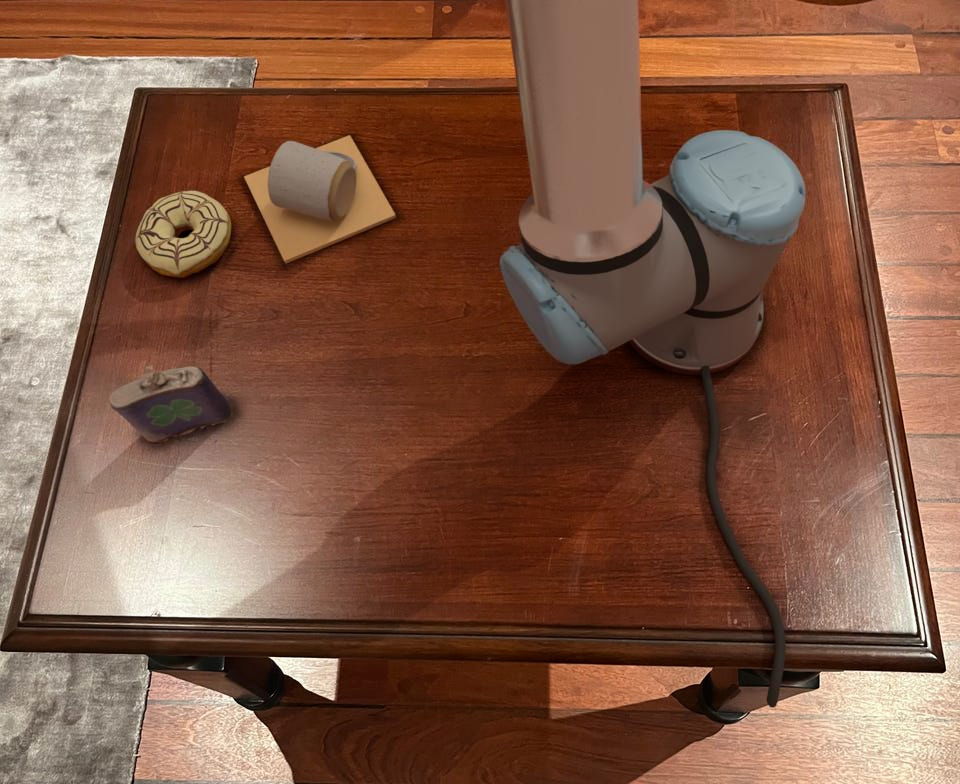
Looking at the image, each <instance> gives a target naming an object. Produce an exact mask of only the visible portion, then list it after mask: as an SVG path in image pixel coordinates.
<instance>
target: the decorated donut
mask: <svg viewBox="0 0 960 784" xmlns="http://www.w3.org/2000/svg"><path fill="white" fill-rule="evenodd" d="M230 217H231V216H230V215H229V213H228V211H227V210H226V208H225V207H224V206H223V205H222V204H221V203H220V202H219V201H217V200H216V199H215V198H212V197H211V196H209V195H208V194H206V193H204V192H202V191H198V190H187V191H185V190H182V191H179V192H175V193H172V194H169V195H167V196H166V195H165V196H164V197H160V198H158V199H157V200H156V201H155V202H154V203H153V204H152V206H151V207H149V208H148V209H147V210H146V211H145V212H144V214H143V217H142V219H141V221H140V222H139V225H138V226H137V230H136V233H135V247H136V250H137V252H138V254H139V255H140V257H141V258H142V259H143V261H144V262H145V263H146V264H147V265H148V266H149V267H150V268H151V269H152V271H155V272H157V273H158V274H160V275H161V276H167V277H172V278H186V277H188V276H191V275H193V274H198V273H199V272H201V271H202V270H204V269H206V268H207V267H209V266H211V265H212V264H214V263H216V262H217V261H218V260H219V259H220V258H221V256H223V255H224V253H225V251H226V250H227V247H228V245H229V244H230V240H231V236H232V234H231V233H232V222H231V218H230ZM185 231H192V232H191V233H190V234H189V235H188V236H186V237H181V238H180V237H179V236H180V235H181V234H182V233H185Z"/></svg>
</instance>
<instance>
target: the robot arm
mask: <svg viewBox="0 0 960 784" xmlns="http://www.w3.org/2000/svg"><path fill="white" fill-rule="evenodd" d="M504 5H505V12H506V18H507V25H508V34H509V39H510V47H511V53H512V60H513V67H514V74H515V81H516V87H517V94H518V100H519V108H520V114H521V121H522V127H523V135H524V141H525V142H524V143H525V148H526V149H525V150H526V156H527V162H528V163H527V164H528V169H529V175H530V183H531V189H532V190H531V191H532V193H531V194H530V195H529V196H528V197H527V198H526V200H525V201H524V203H523V205H522V206H521V207H520V210H519V213H518V214H519V215H518V229H519V236H520V242H521V243H520V244H518V245H510V246H509V248H508V249H507V250H506V251H504V252H503V253H502V255H501V257H500V258H499V269H500V272H501V275H502V278H503V281H504V284H505V287H506V288H507V291H508V294H509V295H510V298H511V299H512V301H513V303H514V305H515V306H516V308H517V310H518V312H519V314H520V315H521V317H522V318H523V320H524V322H525V323H526V326H528V329H529V330H530V331H531V332H532V334H533V336H534V337H535V338H536V340H537V341H538V342H539V343H540V344H541V346H542V347H543V348H544V349H545V350H546V351H547V352H548V354H550V356H552V357H553V358H554V359H555V360H556V361H558V362H560V363H561V364H565V365H579V364H583V363H584V362H587V361H588V360H591V359H594V358H597V357H598V356H601V355H602V356H605V355H607V354H609V353H610V351H612V350H614V349H616V348H618V347H620V346H622V345H624V344H626V343H629V345H630V346H631V348H633V349H634V351H635V352H636V353H638V355H640V356H641V357H642V358H644V359H645V360H646V361H647V362H649V363H651V364H652V365H653V366H656V367H658V368H661V369H662V370H665V371H667V372H671V373H675V374H678V375H686V376H701V380H702V385H703V391H704V397H705V403H706V407H707V414H708V420H709V443H708V452H707V459H706V467H705V468H706V470H705V471H706V472H705V474H706V475H705V477H706V487H707V494H708V498H709V501H710V505H711V509H712V512H713V514H714V518H715V520H716V522H717V524H718V527H719V529H720V532H721V533H722V536H723V538H724V540H725V542H726V544H727V546H728V548H729V550H730V552H731V554H732V556H733V558H734V560H735V563H736V564H737V565H738V567H739V569H740V571H741V572H742V573H743V575H744V576H745V578H746V579H747V580H748V582H749V583H750V585H751V586H752V587H753V590H755V592H756V593H757V594H758V596H759V597H760V599H761V600H762V602H763V604H764V606H765V608H766V610H767V612H768V615H769V617H770V621H771V624H772V628H773V635H774V655H773V664H772V669H771V672H770V673H771V674H770V680H769V684H768V689H767V695H766V704H767V705H768V707H769V708H776V707H777V705H778V701H779V697H780V690H781V685H782V680H783V675H784V669H785V662H786V652H787V651H786V650H787V649H786V646H787V645H786V633H785V628H784V623H783V620H782V615H781V612H780V610H779V608H778V606H777V603H776V601H775V600H774V598H773V596H772V594H771V593H770V592H769V590H768V589H767V587H766V586H765V584H764V583H763V582H762V580H761V579H760V577H759V576H758V575H757V574H756V572H755V571H754V569H753V568H752V567H751V564H750V563H749V562H748V560H747V558H746V556H745V555H744V553H743V551H742V549H741V547H740V545H739V543H738V541H737V538H736V536H735V535H734V532H733V530H732V528H731V526H730V524H729V522H728V520H727V517H726V514H725V513H724V512H725V511H724V510H723V506H722V503H721V499H720V495H719V492H718V491H719V490H718V486H717V461H718V456H719V455H718V454H719V448H720V447H719V446H720V419H719V413H718V407H717V402H716V397H715V393H714V392H715V391H714V386H713V381H712V376H711V374H715V373H718V372H721V371H725V370H726V369H729V368H731V367H733V366H734V365H736V364H737V363H739V362H740V361H741V360H743V358H745V356H746V355H747V354H748V353H749V352H750V350H751V349H752V347H753V346H754V344H755V342H756V341H757V339H758V337H759V335H760V333H761V330H762V327H763V323H764V315H765V314H764V313H765V312H764V311H765V309H764V307H765V306H764V291H763V290H764V287H765V286H766V284H767V282H768V281H769V278H770V276H771V275H772V273H773V272H774V271H773V270H774V269H775V267H776V265H777V264H778V261H780V258H781V256H782V254H783V252H784V250H785V249H786V247H787V245H788V243H789V241H790V240H791V238H792V237H793V236H794V235H795V234H796V231H797V230H798V228H799V223H800V218H801V215H802V213H803V211H804V208H805V205H806V195H807V191H806V185H805V181H804V178H803V176H802V174H801V171H800V170H799V168H798V166H797V165H796V164H795V162H794V161H793V160H792V159H791V158H790V157H789V155H787V154H786V153H785V151H783V150H782V149H781V148H780V147H778V146H776V145H775V144H774V143H772V142H770V141H768V140H766V139H764V138H761V137H759V136H755V135H754V136H753V135H749V134H748V133H746V132H744V131H740V130H732V129H731V130H730V129H718V130H712V131H707V132H703V133H700V134H698V135H695V136H694V137H692V138H690V139H688V140H686V142H685V143H684V144H682V146H681V147H680V149H679V150H678V151H677V153H676V154H675V155H674V157H673V159H672V161H671V164H670V166H669V174H667V175H666V176H664V177H661V178H660V179H658V180H656V181H654V182H652V183H649V182H647V181H646V180H644V179H643V178H644V177H643V175H644V173H643V137H642V136H643V135H642V131H643V130H642V96H641V94H642V91H641V60H640V59H641V54H640V53H641V49H640V11H639V0H504Z"/></svg>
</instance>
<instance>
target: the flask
mask: <svg viewBox="0 0 960 784" xmlns="http://www.w3.org/2000/svg"><path fill="white" fill-rule="evenodd" d="M154 369H155V367H153V366H151V365H146V366H145V368H144V369H141V370H140V373H143V372H144V370H145V371H146V372H144V373H143V374H142V377H140V378H137V379H135V380H133V381H131V382H128V383H126V384H123V385H121V386H120V387H117V388H116V389H114V390H113V391H112V392H111V394H110V395H109V399H108V403H109V405H110V407H111V409H112V410H114V411H115V412H116V413H118V414H119V415H120V416H121V417H122V418H123V419H125V420H126V421H127V422H128V423H129V424H130V426H132V427H133V428H134V429H135V430H136V431H137V432H138V433H139V434H140V435H141V436H142V437H143V438H144V439H145V440H146V441H148V442H149V443H163V442H166V441H167V442H168V441H169V439H171V438H175V437H179V436H184V435H185V436H186V435H188V434H191V433H193V432H194V431H195V430H196V429H199V428H200V429H204V428H205V427H207V426H214V425H219V424H222V423H226V422H227V421H228V420H229V419H230V418H231V416H233V415H234V414H233V409H232V406H231V404H230V403H229V401H228V400H227V398H226V397H225V396H224V395H223V394H222V393H221V391H220V390H219V389H218V388H217V387H216V385H215V384H214V383H213V381H212V380H211V379H210V378H209V376H208V375H207V373H206V372H204V370H203V369H202V368H201V367H198V366H195V365H190V366H185V367H184V366H183V367H176V368H170V369H165V370H161V371H159V370H158V371H156V372H154Z"/></svg>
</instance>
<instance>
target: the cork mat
mask: <svg viewBox="0 0 960 784" xmlns="http://www.w3.org/2000/svg"><path fill="white" fill-rule="evenodd" d="M315 149H317V150H320V151H334V152H339V153H343V154H345V155H348V156H350V157H351V158H353V159H354V160H355V162H356V165H357V170H356V190H355V195H354V199H353V202H352V204H351V207H350V208H349V210H348V212H347V213H346V215H345V216H344V217H342V218H341V219H339V220H335V221H332V220H324V219H320V218H317V217H314V216H310V215H306V214H302V213H299V212H295V211H292V210H288V209H284V208H280V207H277V206H275V205H274V204H273V203H272V202H271V200H270V197H269V193H268V173H269V168H270V166H267V167H265V168H262V169H259V170H256V171H254V172H251V173H250V174H247V175H244V176H243V179H244V181H245V182H246V185H247V187H248V188H249V189H248V190H249V191H250V193H251V195H252V198H253V199H254V201H255V203H256V205H257V207H258V210H259V212H260V213H261V216H262V218H263V220H264V222H265V224H266V226H267V228H268V231H269V233H270V235H271V237H272V239H273V242H274V244H275V245H276V248H277V250H278V252H279V254H280V256H281V259H282V260H283V262H284V264H286V265H287V264H289V263H291V262H294V261H296V260H299V259H301V258H303V257H306V256H308V255H311V254H312V253H315V252H317V251H320V250H322V249H325V248H327V247H329V246H332V245H334V244H337V243H339V242H342V241H344V240H346V239H349V238H351V237H354V236H356V235H358V234H361V233H363V232H365V231H368V230H371V229H373V228H375V227H378V226H380V225H382V224H385V223H387V222H389V221H392V220H394V219H396V218H397V216H396V213H395V211H394V209H393V208H392V205H390V203H389V201H388V200H387V197H386V195H385V194H384V192H383V191H382V188H381V187H380V185H379V183H378V182H377V180H376V178H375V176H374V174H373V173H372V171H371V169H370V168H369V166H368V164H367V162H366V161H365V159H364V157H363V156H362V153H361V152H360V150H359V148H358V146H357V145H356V143H355V142H354V139H353V138H352V136H351V134H349V135H346V136H344V137H341V138H338V139H337V140H333V141H331V142H329V143H326V144H323V145H320V146H317V147H315Z"/></svg>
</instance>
